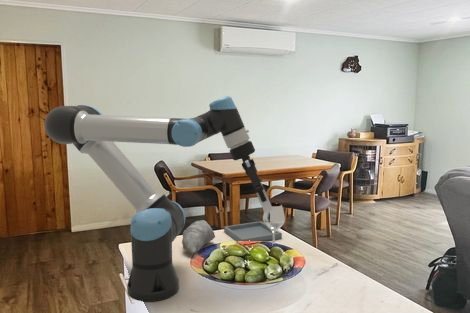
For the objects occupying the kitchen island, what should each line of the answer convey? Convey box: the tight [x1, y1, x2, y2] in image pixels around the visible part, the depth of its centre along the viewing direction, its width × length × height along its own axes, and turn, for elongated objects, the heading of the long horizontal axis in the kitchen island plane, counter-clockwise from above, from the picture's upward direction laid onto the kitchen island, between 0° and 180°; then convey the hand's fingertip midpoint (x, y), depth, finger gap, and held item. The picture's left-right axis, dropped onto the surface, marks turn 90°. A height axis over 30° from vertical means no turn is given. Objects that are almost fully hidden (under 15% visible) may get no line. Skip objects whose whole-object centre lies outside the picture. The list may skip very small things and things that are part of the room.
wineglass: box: [262, 202, 286, 245], centre depth 147 cm, size 8×8×18 cm
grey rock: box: [181, 219, 216, 255], centre depth 150 cm, size 16×15×10 cm
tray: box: [223, 220, 283, 242], centre depth 165 cm, size 18×18×2 cm
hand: (267, 206), depth 124 cm, fingers open, 13 cm apart
